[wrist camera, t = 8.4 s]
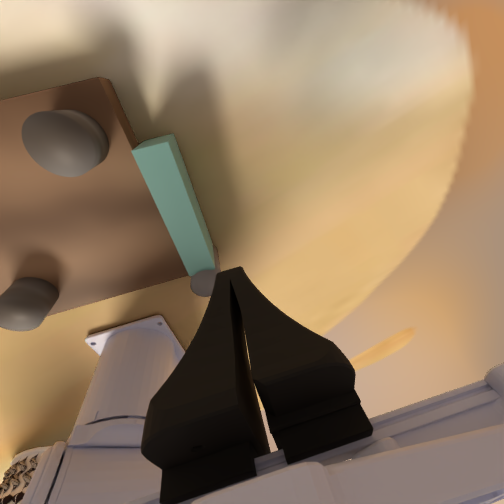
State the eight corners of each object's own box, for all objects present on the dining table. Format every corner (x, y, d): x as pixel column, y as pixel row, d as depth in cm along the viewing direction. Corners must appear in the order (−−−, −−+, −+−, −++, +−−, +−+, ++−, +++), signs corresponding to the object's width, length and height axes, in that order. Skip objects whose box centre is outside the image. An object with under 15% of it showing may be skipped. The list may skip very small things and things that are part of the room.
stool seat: (190, 261, 22) (190, 294, 18) (40, 304, 21) (7, 347, 18) (109, 79, 14) (78, 72, 10) (-135, 138, 13) (-263, 153, 10)
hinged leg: (221, 260, 22) (225, 291, 19) (196, 267, 22) (196, 300, 19) (176, 132, 16) (171, 141, 12) (141, 141, 16) (126, 153, 12)
